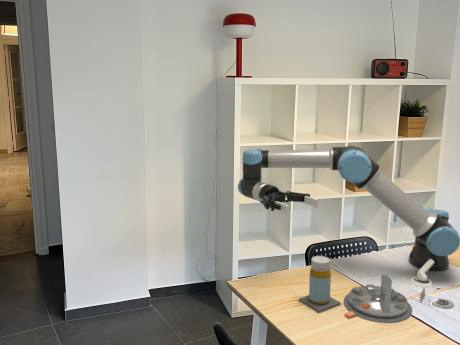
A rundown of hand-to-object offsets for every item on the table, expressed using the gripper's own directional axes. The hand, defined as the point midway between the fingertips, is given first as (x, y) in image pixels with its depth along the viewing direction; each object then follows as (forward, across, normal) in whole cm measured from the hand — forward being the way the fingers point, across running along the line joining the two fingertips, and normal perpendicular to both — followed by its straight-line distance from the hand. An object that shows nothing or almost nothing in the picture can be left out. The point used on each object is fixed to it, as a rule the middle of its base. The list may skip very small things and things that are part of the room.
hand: (303, 206), depth 154 cm
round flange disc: (+22, -15, -32) cm, 41 cm away
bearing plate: (+22, -15, -32) cm, 41 cm away
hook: (+20, -42, -32) cm, 57 cm away
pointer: (+22, -2, -32) cm, 39 cm away
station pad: (+10, 0, -32) cm, 33 cm away
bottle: (+10, 0, -31) cm, 33 cm away
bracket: (+31, -34, -33) cm, 56 cm away
